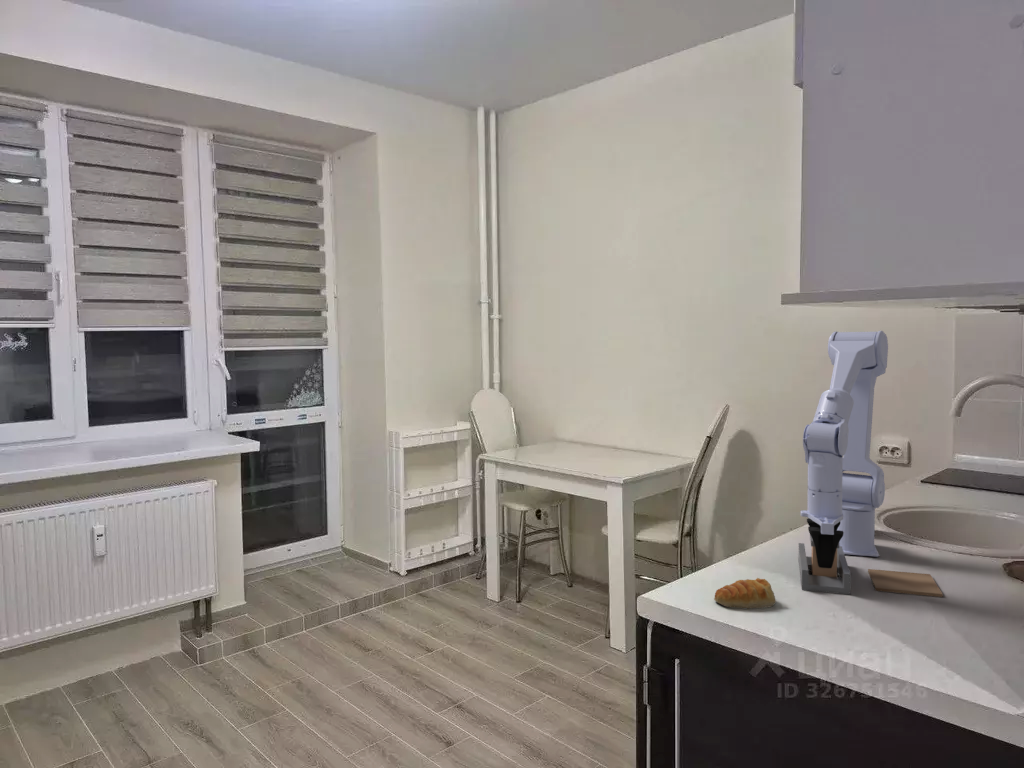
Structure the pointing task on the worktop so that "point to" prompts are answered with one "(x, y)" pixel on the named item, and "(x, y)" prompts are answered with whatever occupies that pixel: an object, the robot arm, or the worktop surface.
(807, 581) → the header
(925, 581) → the walnut pad
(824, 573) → the plug
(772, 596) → the pastry
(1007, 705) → the worktop surface
